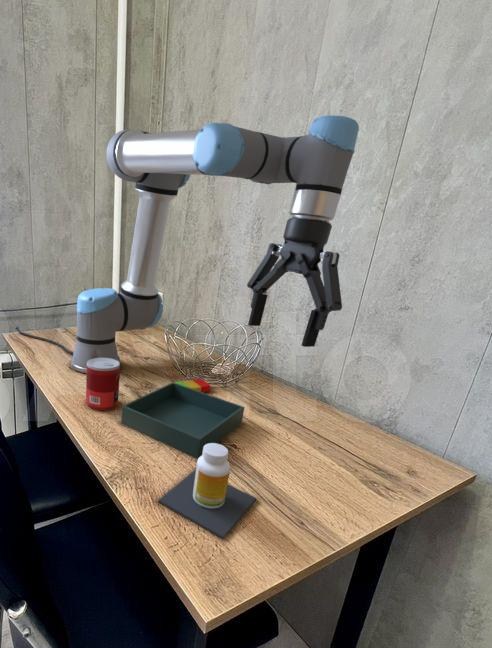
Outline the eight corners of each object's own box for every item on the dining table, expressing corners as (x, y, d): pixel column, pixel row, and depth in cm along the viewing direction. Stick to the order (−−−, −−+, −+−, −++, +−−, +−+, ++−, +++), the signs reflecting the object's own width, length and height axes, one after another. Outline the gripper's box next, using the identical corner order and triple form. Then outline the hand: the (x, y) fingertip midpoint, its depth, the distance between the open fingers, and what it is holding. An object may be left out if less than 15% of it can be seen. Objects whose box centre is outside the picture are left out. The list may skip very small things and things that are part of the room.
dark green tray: (121, 423, 91) (122, 406, 89) (171, 397, 106) (172, 382, 104) (197, 458, 79) (200, 439, 78) (241, 423, 94) (244, 407, 93)
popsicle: (211, 391, 111) (212, 385, 110) (163, 398, 105) (164, 391, 104) (201, 384, 115) (201, 378, 115) (154, 390, 110) (155, 383, 109)
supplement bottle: (229, 508, 65) (238, 458, 62) (198, 510, 64) (205, 459, 61) (217, 487, 70) (225, 439, 67) (188, 489, 69) (194, 441, 66)
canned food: (121, 409, 97) (123, 367, 93) (88, 412, 95) (89, 369, 91) (114, 396, 104) (115, 356, 100) (83, 398, 102) (84, 357, 98)
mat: (158, 502, 66) (158, 499, 66) (195, 471, 75) (195, 469, 75) (223, 539, 60) (223, 536, 59) (255, 500, 68) (256, 498, 68)
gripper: (392, 227, 62) (348, 355, 69) (271, 218, 82) (247, 318, 89) (364, 221, 58) (321, 357, 66) (245, 213, 78) (222, 318, 86)
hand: (278, 335), depth 77 cm, fingers open, 13 cm apart
